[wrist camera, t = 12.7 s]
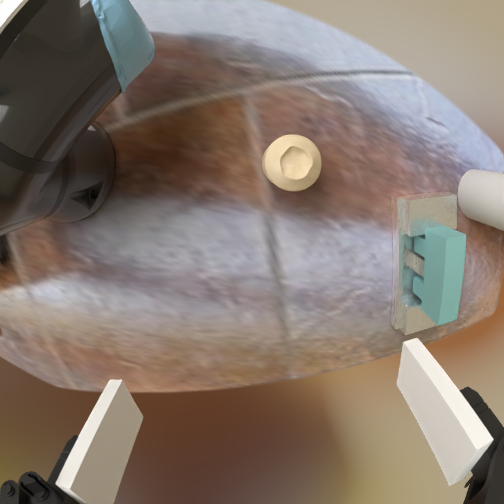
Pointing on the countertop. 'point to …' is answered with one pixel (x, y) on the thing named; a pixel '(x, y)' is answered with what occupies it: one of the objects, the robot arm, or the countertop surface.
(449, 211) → the white block holder tray
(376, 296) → the countertop surface
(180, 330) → the countertop surface
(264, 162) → the candle
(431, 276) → the teal notched block
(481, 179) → the cup
